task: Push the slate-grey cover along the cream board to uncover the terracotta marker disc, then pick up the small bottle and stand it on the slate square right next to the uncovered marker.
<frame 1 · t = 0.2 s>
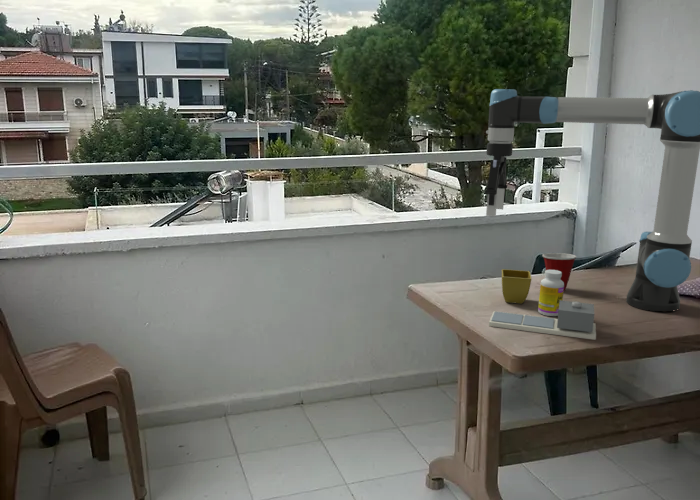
hand: (494, 212, 197), 28 cm above the table, tool pointing down, fingers open, 13 cm apart
board: (541, 326, 180), on the table
supplement bottle: (549, 314, 191), on the table
flower pot: (513, 301, 202), on the table
plastic cup: (555, 289, 216), on the table
cover: (575, 313, 176), point 5 cm above the table, slide at 0.0 cm
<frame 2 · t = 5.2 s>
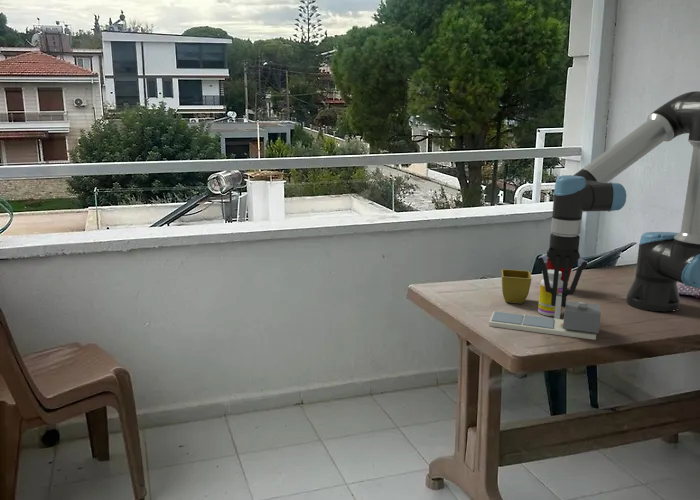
hand: (557, 317, 178), 3 cm above the table, tool pointing down, fingers closed
cover: (581, 314, 175), point 5 cm above the table, slide at 1.6 cm, touching gripper
everything else where it was.
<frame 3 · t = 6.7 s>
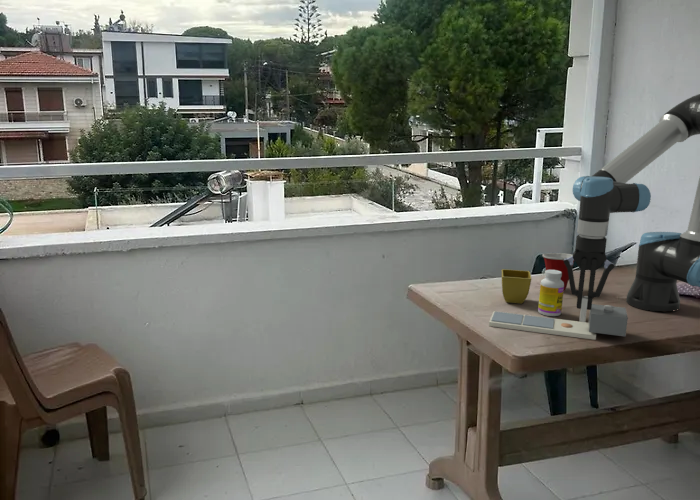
hand: (582, 320, 176), 3 cm above the table, tool pointing down, fingers closed
cover: (607, 317, 173), point 5 cm above the table, slide at 8.2 cm, touching gripper
everything else where it was.
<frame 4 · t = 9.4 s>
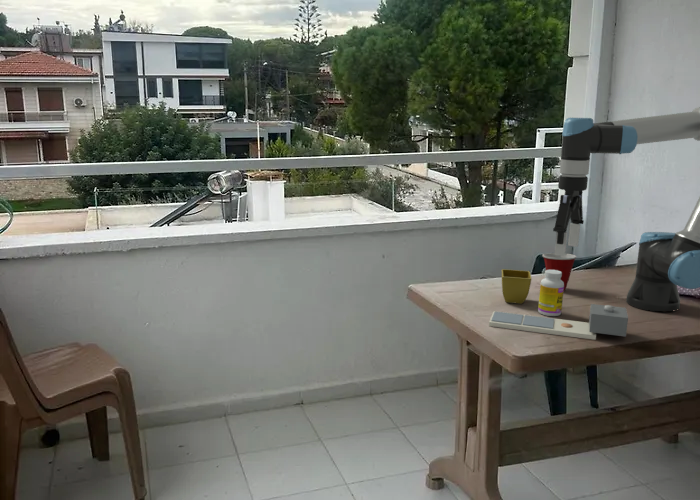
hand: (566, 250, 181), 20 cm above the table, tool pointing down, fingers open, 13 cm apart
cover: (608, 317, 173), point 5 cm above the table, slide at 8.3 cm
everything else where it was.
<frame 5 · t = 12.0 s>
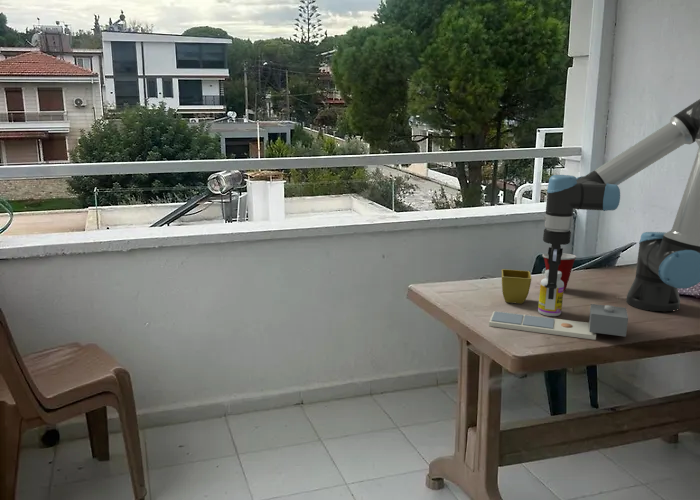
hand: (550, 305, 191), 3 cm above the table, tool pointing down, fingers closed on supplement bottle, 7 cm apart
supplement bottle: (549, 313, 191), on the table, touching gripper
everything else where it was.
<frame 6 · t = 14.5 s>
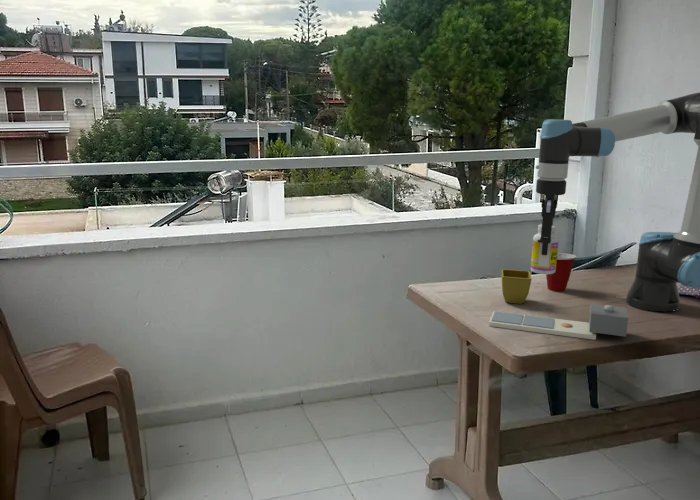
hand: (543, 262, 176), 18 cm above the table, tool pointing down, fingers closed on supplement bottle, 7 cm apart
supplement bottle: (542, 272, 176), point 16 cm above the table, touching gripper
everything else where it was.
when the fingers open (5 cm above the table, at t = 17.2 s): supplement bottle stays where it is, resting on board.
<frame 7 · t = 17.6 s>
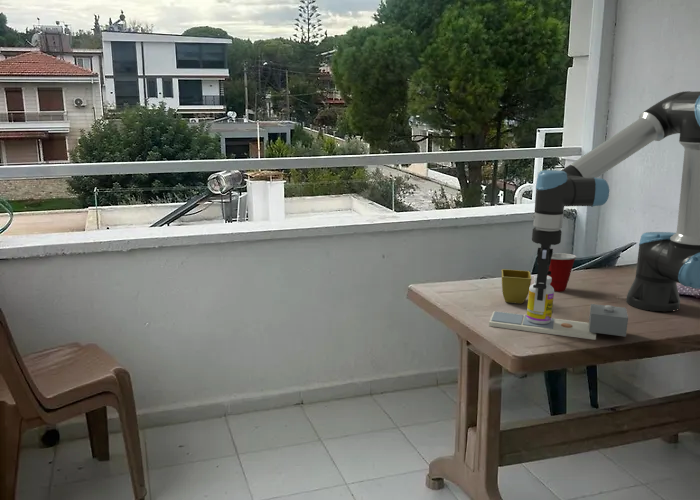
hand: (540, 304, 178), 7 cm above the table, tool pointing down, fingers open, 12 cm apart
supplement bottle: (538, 321, 180), point 1 cm above the table, touching board
everything else where it was.
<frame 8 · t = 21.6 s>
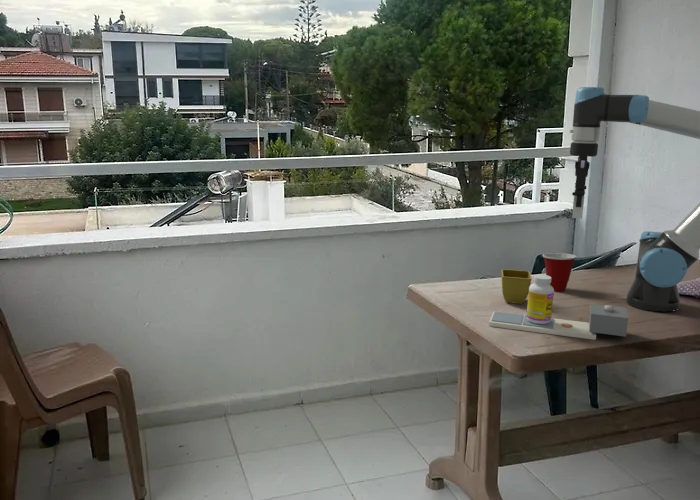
hand: (577, 214, 191), 29 cm above the table, tool pointing down, fingers open, 13 cm apart
nothing on the table moved.
at the end: cover slide at 8.3 cm; supplement bottle inside the target area (0.2 cm from its centre), point 1.3 cm above the table; supplement bottle tilted 0° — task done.
